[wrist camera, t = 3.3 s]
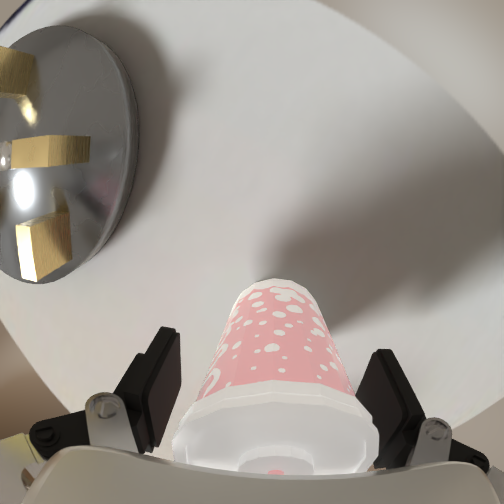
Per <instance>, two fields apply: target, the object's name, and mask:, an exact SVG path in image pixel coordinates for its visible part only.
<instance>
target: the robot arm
mask: <svg viewBox="0 0 504 504" xmlns="http://www.w3.org/2000/svg"><path fill="white" fill-rule="evenodd" d="M180 387H181V357H180V333H177V332H176V330H175V329H174V328H168V327H163V326H162V327H161V328H160V329H159V331H158V333H157V334H156V336H155V338H154V339H153V341H152V343H151V344H150V346H149V348H148V349H147V351H146V353H145V354H142V353H138V354H137V355H136V356H135V358H134V360H133V361H132V363H131V364H130V366H129V368H128V369H127V371H126V373H125V374H124V376H123V377H122V379H121V381H120V382H119V384H118V386H117V387H116V389H115V391H114V392H113V393H108V392H102V393H97V394H95V395H93V396H91V397H90V398H89V399H88V400H87V402H86V404H85V410H83V411H79V412H75V413H71V414H68V415H64V416H59V417H56V418H51V419H47V420H42V421H39V422H37V423H36V424H34V425H33V426H32V428H31V429H30V432H29V434H27V435H24V434H23V433H20V434H18V435H15V436H12V437H9V438H6V439H3V440H0V504H504V472H502V471H501V470H499V469H497V468H496V467H494V466H492V467H491V468H490V467H489V461H488V459H487V457H486V456H485V455H484V454H483V453H481V452H479V451H477V450H475V449H473V448H470V447H468V446H466V445H464V444H462V443H460V442H458V441H456V440H454V439H452V430H451V427H450V426H449V424H448V423H447V422H445V421H444V420H442V419H440V418H435V417H434V418H428V419H426V417H425V415H424V414H425V413H424V411H423V409H422V407H421V405H420V403H419V401H418V399H417V397H416V395H415V393H414V391H413V389H412V387H411V385H410V383H409V381H408V380H407V378H406V376H405V374H404V372H403V370H402V368H401V366H400V364H399V363H398V361H397V359H396V357H395V355H394V353H393V352H392V350H391V349H378V350H377V351H376V352H374V353H373V354H372V356H371V359H370V361H369V364H368V366H367V369H366V371H365V374H364V376H363V379H362V381H361V383H360V386H359V388H358V391H357V393H356V395H355V397H356V398H357V399H358V401H359V402H360V403H361V404H362V405H363V406H364V407H365V409H366V410H367V411H368V412H369V413H370V414H371V415H372V423H373V424H374V426H375V427H376V428H377V430H378V433H379V451H378V457H377V458H376V459H375V461H374V462H373V464H374V468H375V469H377V468H384V467H386V469H387V470H380V471H371V472H362V473H350V474H333V475H276V474H259V473H247V472H237V471H229V470H221V469H214V468H208V467H202V466H196V465H190V464H185V463H180V462H175V461H170V460H166V459H161V458H157V457H153V456H149V455H144V453H145V451H146V452H150V453H152V452H153V449H154V446H155V447H159V445H160V443H161V440H162V437H163V434H164V432H165V429H166V426H167V423H168V421H169V418H170V415H171V412H172V409H173V407H174V404H175V401H176V399H177V396H178V393H179V390H180Z"/></svg>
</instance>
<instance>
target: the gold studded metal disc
mask: <svg viewBox="0 0 504 504" xmlns="http://www.w3.org/2000/svg"><path fill="white" fill-rule="evenodd" d="M138 140H139V124H138V110H137V105H136V100H135V94H134V90H133V87H132V84H131V81H130V78H129V76H128V74H127V72H126V70H125V68H124V66H123V64H122V62H121V61H120V60H119V58H118V57H117V56H116V54H115V53H114V52H113V51H112V50H111V49H110V48H109V47H108V46H107V45H106V44H104V43H103V42H101V41H99V40H98V39H96V38H94V37H92V36H90V35H89V34H87V33H85V32H83V31H81V30H80V29H77V28H73V27H69V26H50V27H45V28H42V29H38V30H36V31H33V32H31V33H29V34H27V35H25V36H24V37H22V38H21V39H19V40H18V41H16V42H15V43H14V44H12V45H11V46H10V47H9V48H6V47H2V46H0V269H1V270H2V271H3V272H4V273H6V274H7V275H9V276H11V277H13V278H14V279H17V280H19V281H22V282H26V283H31V284H45V283H49V282H54V281H56V280H58V279H60V278H63V277H65V276H66V275H68V274H69V273H71V272H72V271H74V270H75V269H77V268H78V267H80V266H81V265H83V264H84V263H85V262H87V261H88V260H90V259H91V258H92V257H93V256H94V255H95V254H96V253H97V252H98V251H99V250H100V249H101V248H102V247H103V245H104V244H105V243H106V241H107V240H108V239H109V238H110V236H111V234H112V232H113V231H114V229H115V227H116V226H117V224H118V222H119V220H120V218H121V215H122V213H123V211H124V209H125V206H126V203H127V200H128V197H129V194H130V191H131V188H132V183H133V179H134V174H135V170H136V163H137V155H138Z"/></svg>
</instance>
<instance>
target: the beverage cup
mask: <svg viewBox="0 0 504 504" xmlns="http://www.w3.org/2000/svg"><path fill="white" fill-rule="evenodd" d="M172 449H173V456H174V461H175V462H180V463H185V464H190V465H196V466H202V467H208V468H214V469H221V470H229V471H237V472H247V473H259V474H276V475H333V474H350V473H362V472H366V471H367V469H368V468H369V467H370V466H371V464H372V463H373V462H374V461H375V459H376V458H377V457H378V451H379V433H378V430H377V428H376V427H375V426H374V424H373V423H372V415H371V414H370V413H369V412H368V411H367V410H366V409H365V407H364V406H363V405H362V404H361V403H360V402H359V401H358V399H357V398H356V397H355V394H354V391H353V389H352V386H351V384H350V381H349V379H348V376H347V374H346V371H345V369H344V367H343V364H342V362H341V359H340V357H339V354H338V352H337V349H336V347H335V345H334V342H333V340H332V337H331V335H330V333H329V330H328V328H327V326H326V323H325V321H324V319H323V316H322V314H321V312H320V309H319V307H318V305H317V302H316V301H315V299H314V298H313V297H312V295H311V294H310V293H309V292H308V290H307V289H306V288H304V287H302V286H300V285H299V284H297V283H295V282H293V281H291V280H283V279H275V278H272V279H268V280H264V281H260V282H256V283H254V284H253V285H251V286H250V287H249V288H247V289H246V290H244V291H243V292H242V293H241V294H240V296H239V297H238V299H237V301H236V302H235V304H234V306H233V308H232V311H231V313H230V316H229V318H228V321H227V324H226V326H225V329H224V331H223V334H222V336H221V339H220V342H219V344H218V347H217V349H216V352H215V354H214V357H213V360H212V362H211V365H210V367H209V370H208V372H207V375H206V377H205V380H204V383H203V385H202V388H201V390H200V393H199V395H198V398H197V400H196V402H194V403H193V404H192V405H191V407H190V408H189V410H188V411H187V412H186V414H185V415H184V417H183V418H182V419H181V421H180V422H179V429H178V430H177V431H176V433H175V434H174V436H173V439H172Z"/></svg>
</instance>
